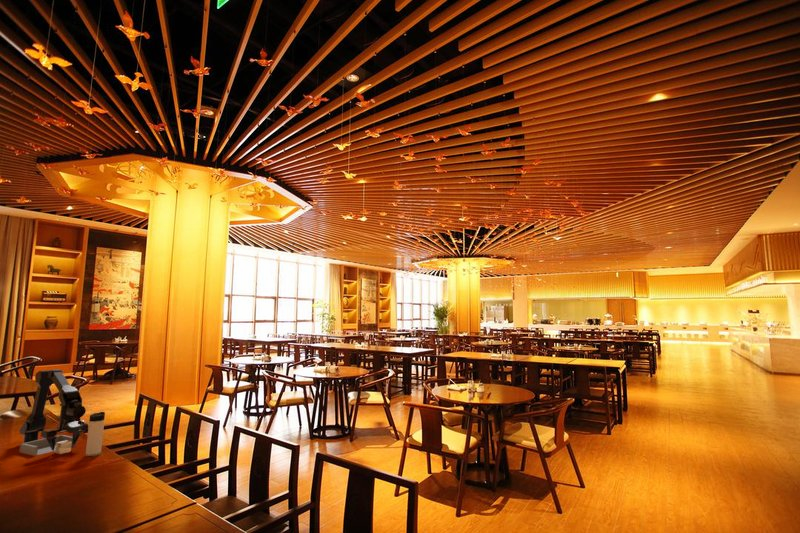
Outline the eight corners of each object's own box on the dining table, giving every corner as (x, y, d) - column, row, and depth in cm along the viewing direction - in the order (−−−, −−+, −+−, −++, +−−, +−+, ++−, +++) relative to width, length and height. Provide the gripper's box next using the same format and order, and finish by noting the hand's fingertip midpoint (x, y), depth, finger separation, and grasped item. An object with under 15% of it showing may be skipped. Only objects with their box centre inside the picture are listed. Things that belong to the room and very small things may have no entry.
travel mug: (104, 452, 208) (108, 412, 211) (93, 457, 202) (98, 414, 205) (93, 452, 209) (97, 411, 212) (82, 456, 203) (86, 414, 205)
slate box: (19, 453, 206) (20, 443, 207) (61, 443, 223) (62, 434, 224) (34, 456, 201) (35, 447, 202) (75, 446, 218) (76, 437, 219)
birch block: (55, 453, 206) (56, 442, 207) (65, 450, 210) (66, 440, 211) (60, 454, 204) (61, 443, 205) (70, 451, 208) (71, 441, 209)
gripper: (55, 421, 198) (51, 455, 196) (96, 413, 215) (93, 444, 213) (41, 418, 202) (37, 452, 200) (83, 411, 219) (80, 442, 217)
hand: (63, 447), depth 208 cm, fingers open, 9 cm apart
